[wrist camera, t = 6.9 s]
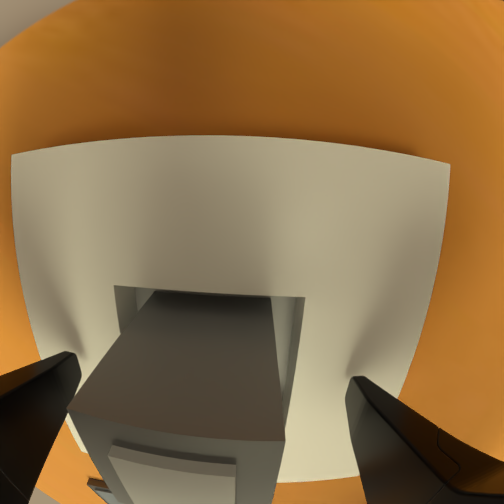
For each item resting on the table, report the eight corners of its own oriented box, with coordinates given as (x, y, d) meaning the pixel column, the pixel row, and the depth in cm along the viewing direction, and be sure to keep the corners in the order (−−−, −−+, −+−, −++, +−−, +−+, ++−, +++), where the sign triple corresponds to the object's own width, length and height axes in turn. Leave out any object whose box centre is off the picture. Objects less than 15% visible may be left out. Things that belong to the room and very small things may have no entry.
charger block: (263, 389, 11) (266, 531, 5) (164, 380, 11) (115, 509, 5) (270, 298, 10) (287, 454, 4) (154, 291, 10) (59, 418, 4)
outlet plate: (351, 448, 13) (358, 475, 11) (94, 427, 13) (81, 451, 11) (418, 163, 9) (450, 164, 7) (44, 154, 9) (11, 154, 7)
